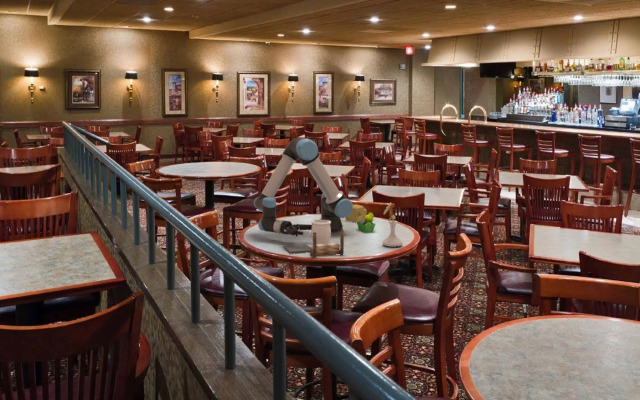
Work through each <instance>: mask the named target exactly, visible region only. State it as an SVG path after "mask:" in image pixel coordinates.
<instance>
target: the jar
mask: <svg viewBox="0 0 640 400" xmlns="http://www.w3.org/2000/svg"><path fill="white" fill-rule="evenodd" d="M312 224H313V225H312ZM330 224H331V221H329V220H320V219H314V220H311V225H312V230H310V231H311V240H312V242H313V233H314V232H316V233H317V243H316V244H326V243H330V242H331V235H332V232H331V227H330Z"/></svg>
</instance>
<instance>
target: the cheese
mask: <svg viewBox="0 0 640 400" xmlns="http://www.w3.org/2000/svg"><path fill="white" fill-rule="evenodd" d="M352 205H353V209H352V212H351V214H350V215H349V216H348V217H346V218H345V221H346V220H347V221H346V222H349V221H353V222H352V223H354V222H360V221H365V216H366V215H367V214H368V210H367V209H366V208H365V207H364V206H363V205H359V204H352Z"/></svg>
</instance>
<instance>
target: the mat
mask: <svg viewBox="0 0 640 400" xmlns="http://www.w3.org/2000/svg"><path fill="white" fill-rule="evenodd" d="M311 247H312V246H311ZM311 247H310V245H308V244H306V243H303V244H302V243H300V244H290V245H289V244H285V245H282V248H283V249H284V250H285V251H286V252H287V253H289V254H290V255H292V254H293V255H294V253H295V254H306V252H308V253H310V251H311Z"/></svg>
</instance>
